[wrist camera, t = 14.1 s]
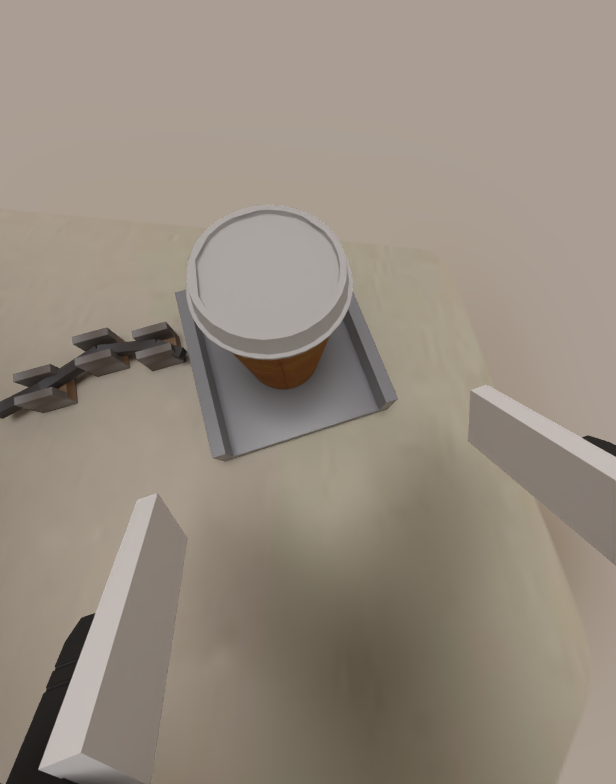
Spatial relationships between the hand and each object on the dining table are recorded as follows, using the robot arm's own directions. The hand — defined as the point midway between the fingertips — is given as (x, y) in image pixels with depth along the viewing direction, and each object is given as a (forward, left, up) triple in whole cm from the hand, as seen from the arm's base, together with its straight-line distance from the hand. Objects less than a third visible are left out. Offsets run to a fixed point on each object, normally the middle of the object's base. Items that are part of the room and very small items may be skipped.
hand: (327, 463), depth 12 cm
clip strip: (-15, +15, -14) cm, 25 cm away
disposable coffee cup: (0, +11, -13) cm, 17 cm away
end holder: (0, +11, -14) cm, 18 cm away
